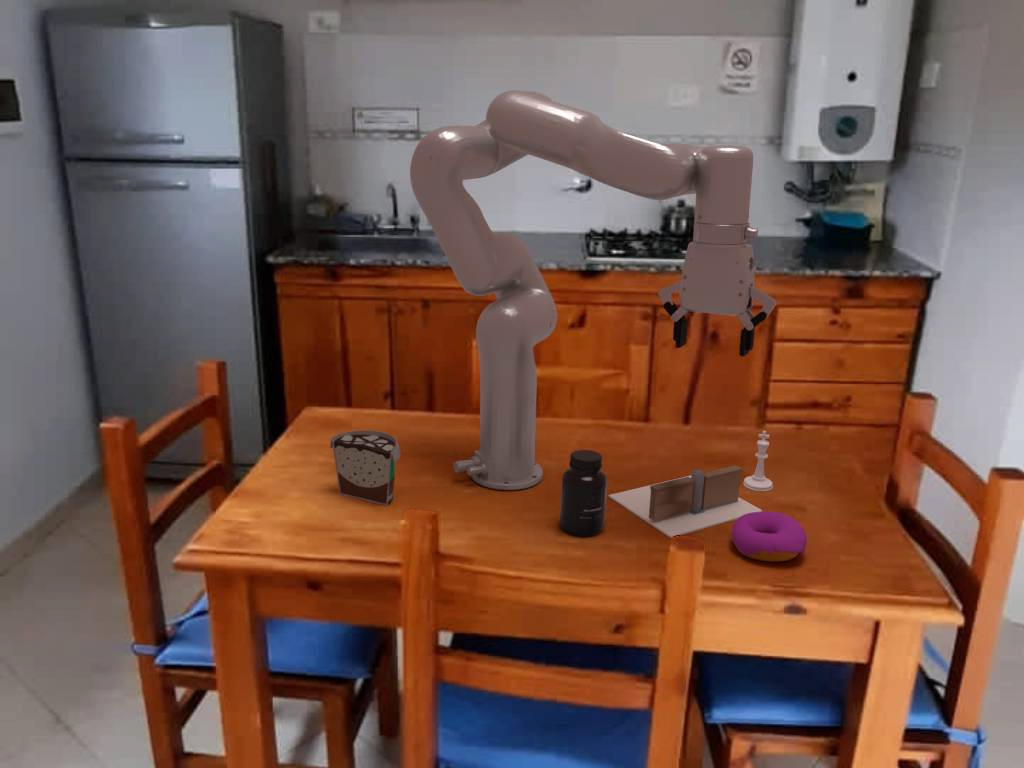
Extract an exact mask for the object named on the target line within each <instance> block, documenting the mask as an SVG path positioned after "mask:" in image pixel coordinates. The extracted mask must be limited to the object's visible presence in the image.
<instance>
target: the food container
mask: <svg viewBox="0 0 1024 768" xmlns="http://www.w3.org/2000/svg"><path fill="white" fill-rule="evenodd" d="M329 448H330V449H333V456H334V462H335V471H336V478H337V486H338V493H339V495H340V496H343V497H344V496H346V497H349V498H353V499H357V500H361V499H362V501H365V500H366V501H365V502H370V503H373V502H374V503H375V504H378V505H382V504H383V506H386V505H388V506H390V505H391V503H392V502H393V500H394V492H395V491H394V490H395V489H394V488H395V478H396V477H395V475H396V474H395V473H396V462H397V460H399V458H400V456H401V450H400V446H399V443H398V441H397V439H396V437H394V436H393V435H392V434H389V433H386V432H384V431H379V430H368V429H367V430H366V429H363V430H361V429H360V430H350V431H345V432H342V433H338V434H335V435H333V436H331V440H330V445H329ZM374 503H373V504H374Z"/></svg>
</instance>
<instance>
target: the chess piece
mask: <svg viewBox="0 0 1024 768" xmlns="http://www.w3.org/2000/svg"><path fill="white" fill-rule="evenodd" d="M758 438H761V439H759V440H757V441H756V444H757V449H758V452H755V454H754V456H755V457H757V463H756V467H755V470H754V473H753V474H752V475H749V476H746V477H745V478H744V479H743V482H742V483H743V485H744V486H743V487H745V488H747V489H749V490H750V491H751V490H752V491H756V492H768V491H771V490H772V489H773V488H774V486H773V482H772V480H770V479H769V478H767V477H766V476H765V459H767V458H768V457H769V454H768V453H766V452H767V449H768V447H769V445H770V442H769V441H768V440H766V439H770V434H767V430H762V434H761V433H759V434H758Z"/></svg>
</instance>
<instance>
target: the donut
mask: <svg viewBox="0 0 1024 768" xmlns="http://www.w3.org/2000/svg"><path fill="white" fill-rule="evenodd" d="M730 535H731V538H732V542H733V544H734V545H735V547H736V549H737V551H738V552H739V553H740V554H742V555H743V556H745V557H747V558H749V559H752V560H755V561H761V562H772V563H773V562H784V561H786V562H787V561H789V560H792V559H794V558H795V557H796V556H798V554H799V555H801V556H803V554H804V552H805V548H806V546H807V543H808V540H807V539H808V538H807V534H806V532H805V529H804V527H803V526H802V525H801V524H800V522H798V521H797V520H796V519H794V518H793V517H791V516H789V515H787V514H784V513H782V512H778V511H763V512H752V513H747V514H744V515H742V516H741V517H739V518H738V519H737V520H735V521H734V524H733V526H732V529H731V533H730Z"/></svg>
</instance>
